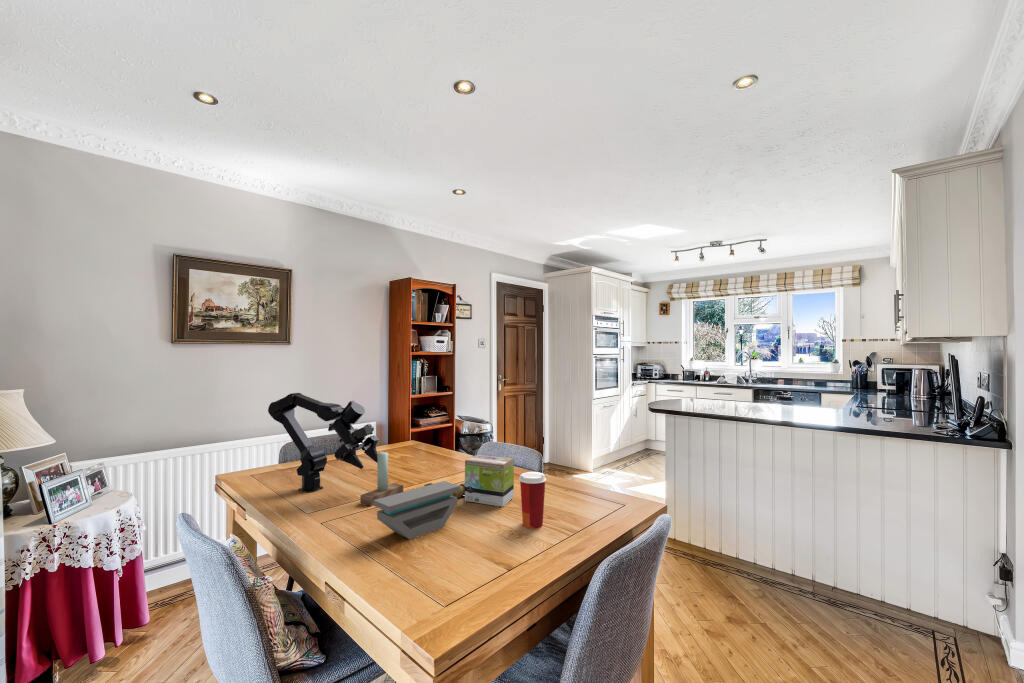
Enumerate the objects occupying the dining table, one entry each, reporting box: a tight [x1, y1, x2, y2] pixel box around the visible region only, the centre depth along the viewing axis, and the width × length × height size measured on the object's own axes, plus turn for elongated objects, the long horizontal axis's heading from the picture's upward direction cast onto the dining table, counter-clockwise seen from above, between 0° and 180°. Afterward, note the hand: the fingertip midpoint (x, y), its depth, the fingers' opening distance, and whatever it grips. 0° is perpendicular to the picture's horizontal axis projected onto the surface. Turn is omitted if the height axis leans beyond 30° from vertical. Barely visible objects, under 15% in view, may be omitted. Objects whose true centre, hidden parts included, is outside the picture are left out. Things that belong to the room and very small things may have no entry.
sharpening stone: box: [373, 480, 460, 540], centre depth 131 cm, size 25×8×11 cm, turn 138°
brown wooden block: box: [359, 482, 404, 507], centre depth 159 cm, size 16×5×3 cm, turn 152°
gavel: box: [423, 482, 465, 499], centre depth 165 cm, size 21×5×10 cm
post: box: [376, 451, 389, 491], centre depth 159 cm, size 4×4×13 cm
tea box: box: [464, 454, 515, 508], centre depth 157 cm, size 15×10×15 cm
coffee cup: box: [518, 471, 547, 530], centre depth 135 cm, size 8×8×15 cm
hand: (370, 465), depth 161 cm, fingers open, 9 cm apart
